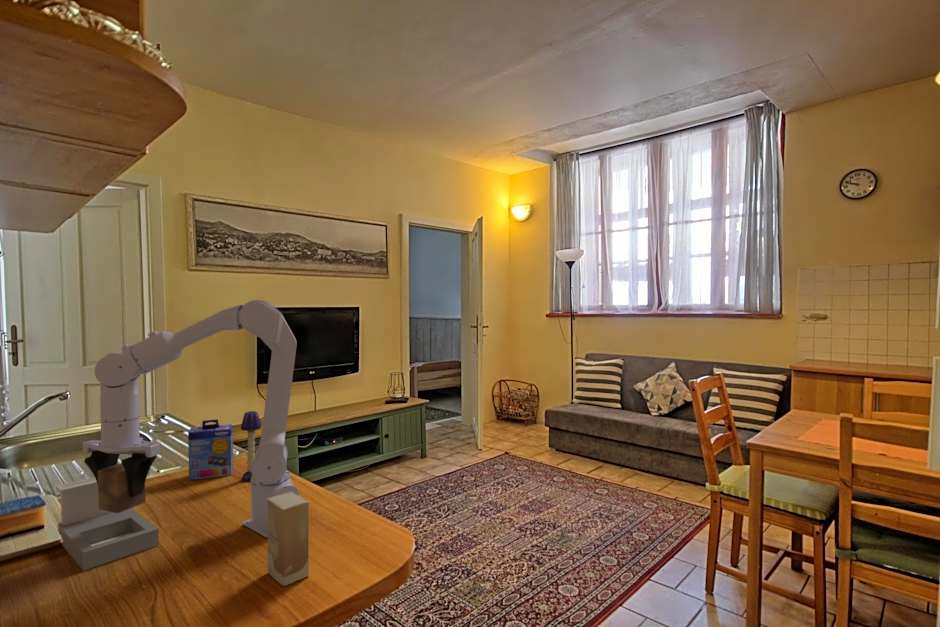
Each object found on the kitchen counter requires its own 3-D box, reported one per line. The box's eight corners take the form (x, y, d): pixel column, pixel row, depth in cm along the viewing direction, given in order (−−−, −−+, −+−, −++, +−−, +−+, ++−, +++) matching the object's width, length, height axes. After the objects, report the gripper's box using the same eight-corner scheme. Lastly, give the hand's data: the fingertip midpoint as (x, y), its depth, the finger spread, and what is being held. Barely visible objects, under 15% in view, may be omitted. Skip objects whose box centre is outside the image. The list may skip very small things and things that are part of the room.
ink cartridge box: (188, 481, 123) (186, 423, 123) (191, 474, 129) (189, 418, 128) (232, 475, 127) (231, 419, 127) (233, 469, 132) (232, 414, 132)
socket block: (158, 545, 90) (157, 490, 90) (83, 570, 82) (81, 510, 82) (126, 519, 102) (125, 470, 101) (57, 539, 93) (56, 486, 93)
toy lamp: (265, 475, 127) (264, 410, 126) (256, 482, 122) (254, 414, 122) (247, 475, 127) (246, 410, 127) (237, 482, 123) (236, 414, 122)
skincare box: (266, 572, 81) (265, 497, 81) (292, 562, 84) (291, 490, 84) (284, 588, 76) (282, 508, 76) (310, 577, 79) (309, 500, 79)
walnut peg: (145, 502, 92) (144, 464, 92) (117, 513, 88) (116, 473, 88) (126, 498, 94) (125, 461, 94) (98, 509, 90) (97, 470, 89)
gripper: (172, 415, 93) (173, 488, 93) (106, 412, 96) (108, 483, 96) (140, 424, 86) (142, 502, 86) (70, 421, 89) (72, 497, 89)
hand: (121, 493), depth 91 cm, fingers closed on walnut peg, 6 cm apart
